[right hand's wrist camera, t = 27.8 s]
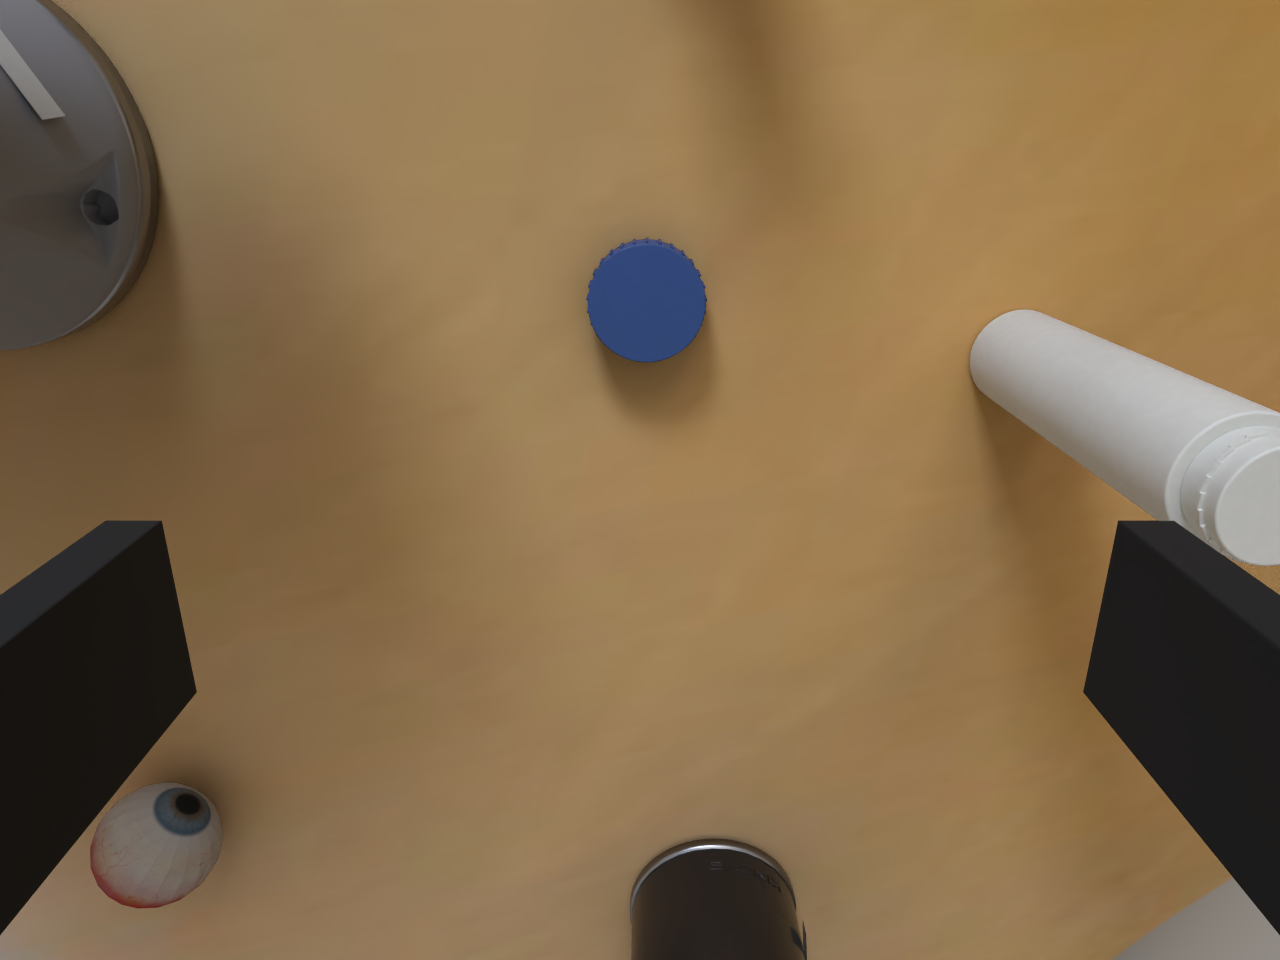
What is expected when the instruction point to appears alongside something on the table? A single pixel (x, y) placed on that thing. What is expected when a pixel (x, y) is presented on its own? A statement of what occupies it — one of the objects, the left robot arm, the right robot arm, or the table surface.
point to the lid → (646, 300)
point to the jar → (1142, 429)
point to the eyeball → (156, 845)
